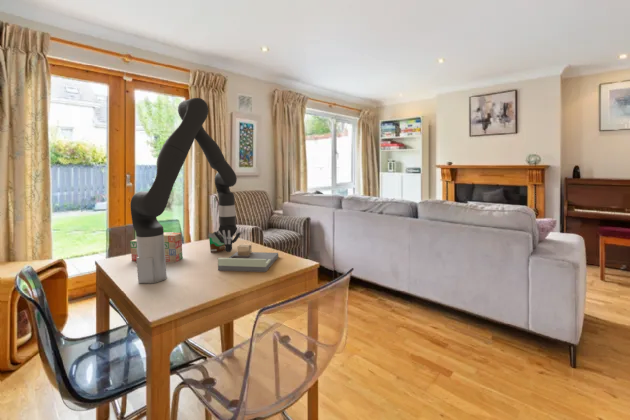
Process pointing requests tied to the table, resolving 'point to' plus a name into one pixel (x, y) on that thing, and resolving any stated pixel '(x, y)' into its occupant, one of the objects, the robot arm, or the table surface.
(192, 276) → the table surface
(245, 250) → the maple block
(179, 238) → the stack of blocks
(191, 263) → the table surface
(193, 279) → the table surface
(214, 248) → the food container
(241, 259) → the grey panel with windows
